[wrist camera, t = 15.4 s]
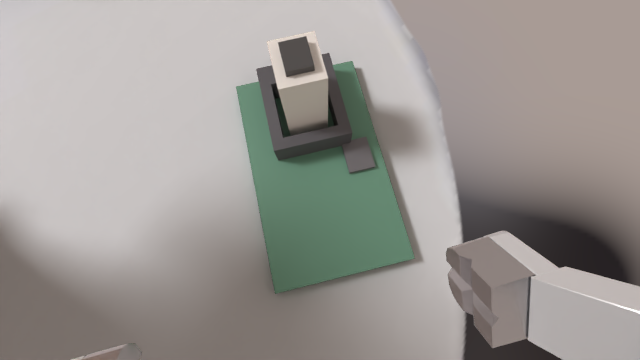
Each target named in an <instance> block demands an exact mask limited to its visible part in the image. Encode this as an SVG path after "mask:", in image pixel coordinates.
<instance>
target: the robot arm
mask: <svg viewBox="0 0 640 360" xmlns="http://www.w3.org/2000/svg"><path fill="white" fill-rule="evenodd" d="M446 260H447V262H448V263H449V264H450V265H451V267H452V268H451V270H450V271H449V273H448V280H449V285H450V288H451V291H452V294H453V296H454V298H455V299H456V301H457V303H458V304H459V306H460V307H461V308H462V310H463V311H465V312H468V313H470V314H472V315H474V325H475V326H476V328H477V329H478V330H479V332H480V333H481V334H482V335H483V336H484V338H485V339H486V340H487V342H488V343H489V344H490V346H491V347H492V348H495V347H498V346H502V345H506V344H509V343H512V342H516V341H520V340H523V339H527V338H528V340H529V341H530V342H532V343H534V344H536V345H537V346H539V347H541V348H543V349H545V350H547V351H548V352H550V353H552V354H554V355H555V356H557V357H559V358H561V359H563V360H640V287H639V286H635V285H631V284H628V283H624V282H620V281H617V280H613V279H609V278H606V277H602V276H598V275H595V274H591V273H587V272H584V271H580V270H576V269H572V268H569V267H563V268H558V267H557V266H555V265H554V264H553V263H551V262H550V261H548V260H547V259H545V258H544V257H543V256H541V255H540V254H538V253H537V252H535V251H534V250H533V249H531V248H530V247H528V246H527V245H526V244H524V243H523V242H522V241H520V240H519V239H517V238H516V237H514V236H513V235H512V234H510V233H509V232H506V231H500V232H496V233H493V234H490V235H487V236H484V237H482V238H478V239H475V240H472V241H469V242H466V243H462V244H459V245H456V246H452V247H449V248H447V251H446ZM141 354H142V352H141V350H140V349H139V348H138V346H137V345H136V344H135V343H127V344H124V345H120V346H116V347H113V348H109V349H105V350H102V351H98V352H94V353H91V354H88V355H85V356H81V357H78V358H74V359H70V360H140V358H141Z"/></svg>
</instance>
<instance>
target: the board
mask: <svg viewBox="0 0 640 360" xmlns="http://www.w3.org/2000/svg"><path fill="white" fill-rule="evenodd" d="M322 58H323V62H324V65H325V69H326V72H327V76H328V127H327V128H323V129H319V130H314V131H310V132H306V133H301V134H297V135H293V136H291V135H290V131H289V128H288V124H287V121H286V117H285V113H284V110H283V106H282V103H281V99H280V95H279V92H278V88H277V84H276V79H275V75H274V71H273V67H272V66H267V67H263V68H258V69H256V70H257V75H258V79H259V82H255V83H250V84H246V85H241V86H237V87H236V89H237V94H238V99H239V105H240V110H241V115H242V121H243V126H244V131H245V137H246V142H247V147H248V152H249V158H250V163H251V168H252V174H253V179H254V184H255V190H256V195H257V200H258V206H259V211H260V216H261V221H262V227H263V232H264V237H265V243H266V248H267V253H268V259H269V264H270V269H271V275H272V280H273V285H274V291H275V294H276V293H280V292H284V291H288V290H292V289H296V288H300V287H304V286H308V285H312V284H316V283H320V282H324V281H328V280H332V279H336V278H340V277H344V276H348V275H351V274H355V273H359V272H363V271H367V270H371V269H375V268H379V267H383V266H387V265H391V264H395V263H399V262H403V261H407V260H411V259H415V258H414V254H413V251H412V248H411V245H410V242H409V239H408V235H407V232H406V229H405V226H404V223H403V220H402V216H401V213H400V210H399V207H398V204H397V201H396V197H395V194H394V191H393V188H392V185H391V182H390V179H389V175H388V172H387V169H386V166H385V163H384V160H383V156H382V153H381V150H380V147H379V144H378V141H377V137H376V134H375V131H374V128H373V125H372V122H371V118H370V115H369V112H368V109H367V106H366V103H365V99H364V96H363V93H362V90H361V87H360V84H359V81H358V77H357V74H356V71H355V68H354V65H353V62H352V61H350V62H345V63H341V64H336V65H332V61H331V58H330V54H329V53H327V54H322Z"/></svg>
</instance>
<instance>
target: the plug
mask: <svg viewBox="0 0 640 360" xmlns="http://www.w3.org/2000/svg"><path fill="white" fill-rule="evenodd" d="M267 45H268V50H269V54H270V58H271V62H272V67H273V71H274V75H275V79H276V84H277V88H278V92H279V95H280V99H281V103H282V106H283V110H284V113H285V117H286V121H287V124H288V128H289V131H290V135H291V136H293V135H297V134H301V133H306V132H310V131H314V130H319V129H323V128H327V127H328V76H327V72H326V69H325V65H324V62H323V58H322V55H321V52H320V48H319V45H318V41H317V38H316V34H315V31H312V32H307V33H303V34H298V35H293V36H289V37H284V38H280V39H275V40H271V41H267Z"/></svg>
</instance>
